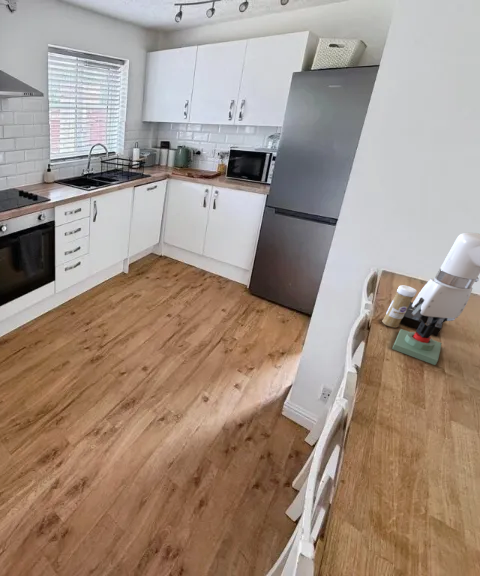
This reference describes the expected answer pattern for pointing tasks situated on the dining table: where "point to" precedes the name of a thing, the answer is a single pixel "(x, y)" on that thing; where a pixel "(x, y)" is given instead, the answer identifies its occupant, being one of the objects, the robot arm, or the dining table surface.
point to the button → (421, 338)
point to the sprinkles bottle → (399, 306)
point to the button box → (417, 347)
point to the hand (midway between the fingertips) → (422, 334)
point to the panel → (415, 320)
